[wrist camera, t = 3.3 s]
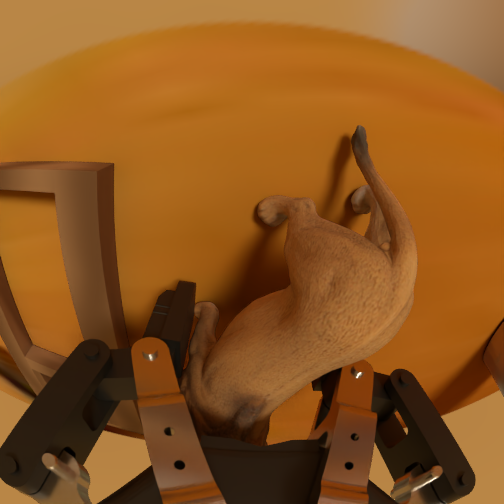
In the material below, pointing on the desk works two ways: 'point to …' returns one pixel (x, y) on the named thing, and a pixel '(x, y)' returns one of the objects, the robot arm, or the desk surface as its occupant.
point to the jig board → (73, 268)
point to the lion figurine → (304, 311)
